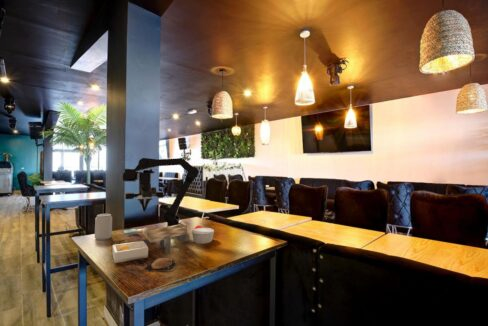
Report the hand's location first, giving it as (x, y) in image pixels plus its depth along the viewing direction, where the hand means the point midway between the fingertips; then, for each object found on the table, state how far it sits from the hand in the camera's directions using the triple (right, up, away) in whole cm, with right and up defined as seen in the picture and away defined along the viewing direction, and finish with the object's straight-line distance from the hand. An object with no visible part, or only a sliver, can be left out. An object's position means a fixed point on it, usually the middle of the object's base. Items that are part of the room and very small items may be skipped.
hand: (144, 211), depth 126 cm
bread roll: (+22, -14, -37) cm, 45 cm away
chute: (+12, -10, -16) cm, 22 cm away
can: (-19, -13, -5) cm, 23 cm away
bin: (+6, -13, -27) cm, 31 cm away
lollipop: (+28, -14, +9) cm, 33 cm away
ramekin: (+32, -14, -5) cm, 35 cm away
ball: (+4, -10, -29) cm, 30 cm away
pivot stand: (+17, -13, -20) cm, 29 cm away
